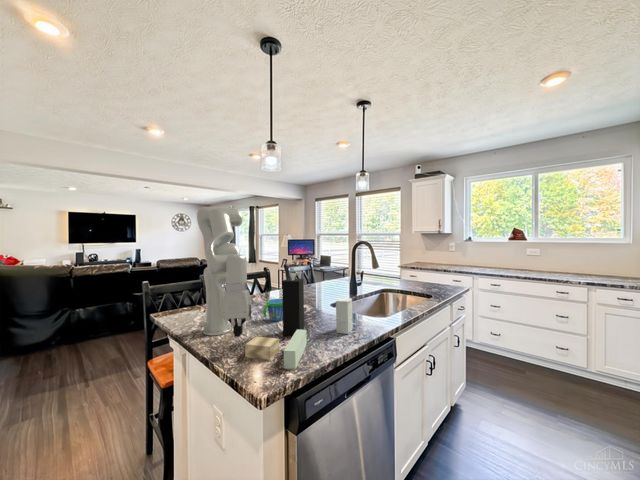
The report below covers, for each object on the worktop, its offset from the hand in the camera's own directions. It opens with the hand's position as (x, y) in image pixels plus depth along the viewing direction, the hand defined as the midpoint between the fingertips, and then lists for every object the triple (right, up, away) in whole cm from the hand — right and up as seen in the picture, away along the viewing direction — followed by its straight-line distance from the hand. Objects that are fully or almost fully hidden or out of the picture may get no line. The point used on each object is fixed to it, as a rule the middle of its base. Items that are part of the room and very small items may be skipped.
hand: (238, 335), depth 102 cm
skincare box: (+43, -6, +23) cm, 49 cm away
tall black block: (+19, -7, +20) cm, 29 cm away
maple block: (+10, -7, -1) cm, 12 cm away
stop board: (+22, -7, -2) cm, 23 cm away
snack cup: (+8, -7, +42) cm, 43 cm away
